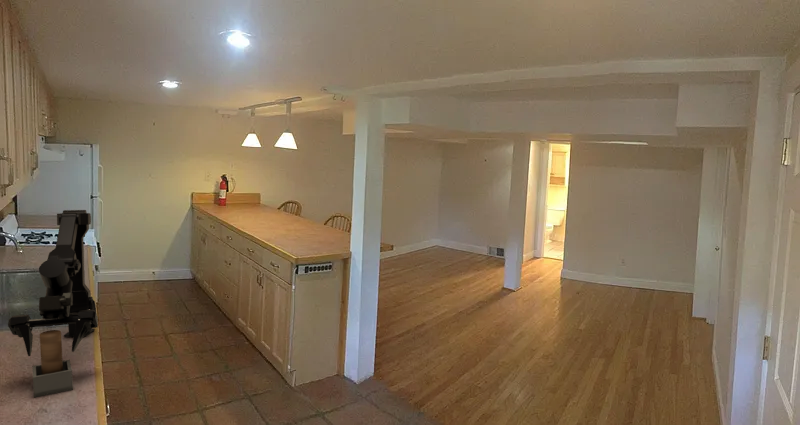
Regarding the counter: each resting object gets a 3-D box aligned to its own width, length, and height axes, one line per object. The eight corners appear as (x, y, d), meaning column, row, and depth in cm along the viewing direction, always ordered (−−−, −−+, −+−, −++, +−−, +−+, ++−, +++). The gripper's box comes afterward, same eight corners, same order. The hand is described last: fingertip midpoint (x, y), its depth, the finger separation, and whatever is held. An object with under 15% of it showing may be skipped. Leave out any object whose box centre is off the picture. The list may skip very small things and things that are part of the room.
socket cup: (33, 385, 132) (32, 366, 131) (70, 377, 136) (69, 359, 136) (33, 397, 125) (32, 377, 125) (72, 389, 130) (71, 370, 129)
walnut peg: (48, 379, 133) (45, 330, 131) (66, 379, 133) (64, 329, 132) (38, 387, 128) (35, 336, 127) (57, 387, 129) (55, 336, 127)
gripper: (7, 284, 129) (-4, 343, 120) (94, 279, 136) (90, 334, 128) (18, 306, 137) (8, 363, 128) (99, 300, 144) (96, 353, 136)
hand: (51, 353), depth 130 cm, fingers open, 9 cm apart
